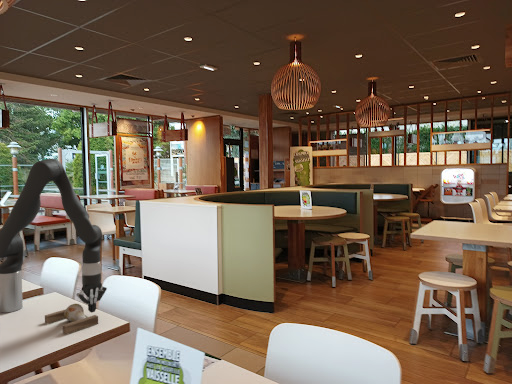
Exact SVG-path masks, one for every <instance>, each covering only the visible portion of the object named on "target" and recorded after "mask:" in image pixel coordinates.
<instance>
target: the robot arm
mask: <svg viewBox="0 0 512 384" xmlns="http://www.w3.org/2000/svg"><path fill="white" fill-rule="evenodd" d="M51 182H53V183H54V185H55V186H56V187H57V189H58V191H59V194H60V197H61V202H62V203H61V204H62V208H63V210H64V212H65V214H66V215H67V217H68V218H69V220H70V222H72V224H73V227H74V230H75V231H76V233H77V236H78V238H79V239H80V240H81V241H82V242H83V243H84V249H83V250H82V265H81V284H82V287H81V290H80V291H79V293H76V297H77V298H78V299H79V300H80V301H81V302H82V303H84V304H86V305H87V311H88V312H89V313H95V312H96V310H97V302H98V301H99V302H100V301H101V299H102V298H103V296H104V295H105V293H106V292H107V290H108V288H107V287H105V286H103V284H102V264H101V247H102V242H103V241H102V240H103V231H102V229H101V227H100V226H99V225H96V224H92V223H91V220H90V215H89V213H88V211H87V209H86V208H85V206H84V205H83V204H82V202H81V200H80V199H79V197H78V195H77V194H76V192H75V189H74V188H73V185H72V182H71V180H70V179H69V177H68V175H67V171H66V170H65V167H64V165H63V164H62V163H61V162H60V160H58V159H55V158H48V159H41V160H38V161H36V162H34V163H33V165H31V168H30V169H29V172H28V176H27V178H26V182H25V184H24V186H23V188H22V189H21V192H20V194H19V196H18V198H17V200H16V201H15V203H14V205H13V207H12V208H11V211H10V213H9V215H8V217H7V218H6V220H5V222H4V224H3V225H2V226H1V228H0V259H3V258H5V260H4V261H3V262H2V263H0V313H12V312H16V311H19V310H21V309H22V308H23V274H22V273H23V272H22V270H23V269H22V267H23V264H24V252H25V251H24V250H25V249H24V240H23V239H22V237H21V236H20V235H18V234H19V233H21V231H23V230H24V229H25V228H27V227H28V226H30V224H32V222H33V221H34V220H35V219H36V217H37V215H38V213H39V211H40V210H41V205H42V203H41V201H42V200H41V195H42V193H43V190H44V189H45V187H46V186H47V185H48V183H51Z"/></svg>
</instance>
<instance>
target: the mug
mask: <svg viewBox="0 0 512 384" xmlns="http://www.w3.org/2000/svg"><path fill="white" fill-rule="evenodd" d="M64 310H65V309H64ZM64 316H65V317H66V318H65V319H66V320H67V321H69V322H70V323H72V322H75V321H78V320H81V319H84V318H87V317H88V316H87V315H86V314H85V310H84V308H83V306H82V305H81V304H79V303H73V304H70V305H68V306H67V307H66V310H65V313H64Z"/></svg>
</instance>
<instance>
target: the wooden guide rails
mask: <svg viewBox="0 0 512 384" xmlns="http://www.w3.org/2000/svg"><path fill="white" fill-rule="evenodd" d="M66 309H67V308H66ZM66 309H63V310H59V311H55V312H51V313H47V314H45V315H44V323H45V324H47V325H49V324H51V323H52V324H53V323H56V322H59V321H62V320H65V319H66V317H65V316H64V313H65V310H66ZM97 324H99V316H98V315H96V314H93V315H90V316H87V318H84V319H81V320H78V321H75V322H68V323H66V324H65V323H64V324H62V333H63V334H65V335H69V334H72V333H75V332H78V331H80V330H84V329H86V328H90V327H92V326H95V325H97Z"/></svg>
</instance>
